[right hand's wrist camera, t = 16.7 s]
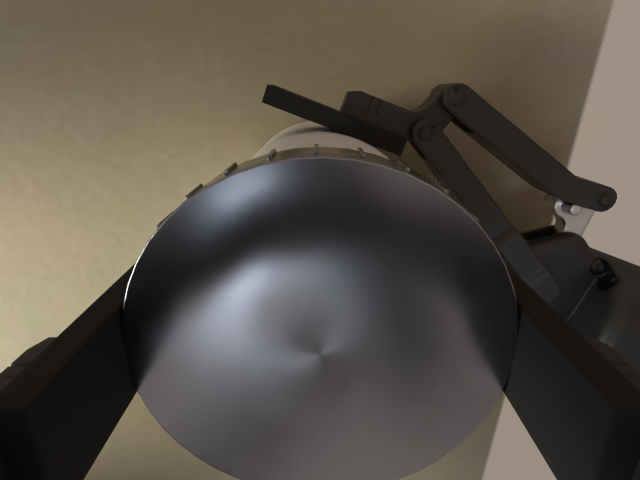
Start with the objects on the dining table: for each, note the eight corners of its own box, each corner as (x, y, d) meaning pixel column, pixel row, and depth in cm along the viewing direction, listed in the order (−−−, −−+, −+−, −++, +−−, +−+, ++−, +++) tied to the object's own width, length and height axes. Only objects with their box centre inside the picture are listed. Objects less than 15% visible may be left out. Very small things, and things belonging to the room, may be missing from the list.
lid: (567, 233, 11) (606, 256, 10) (396, 485, 14) (405, 531, 13) (205, 74, 10) (184, 71, 8) (109, 395, 13) (81, 435, 11)
